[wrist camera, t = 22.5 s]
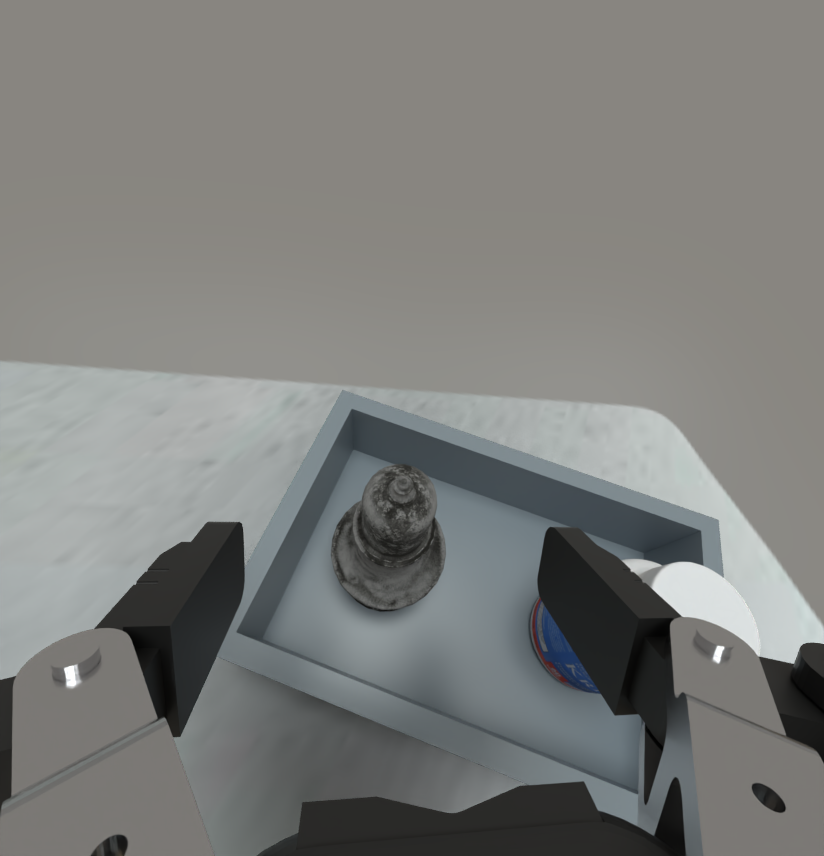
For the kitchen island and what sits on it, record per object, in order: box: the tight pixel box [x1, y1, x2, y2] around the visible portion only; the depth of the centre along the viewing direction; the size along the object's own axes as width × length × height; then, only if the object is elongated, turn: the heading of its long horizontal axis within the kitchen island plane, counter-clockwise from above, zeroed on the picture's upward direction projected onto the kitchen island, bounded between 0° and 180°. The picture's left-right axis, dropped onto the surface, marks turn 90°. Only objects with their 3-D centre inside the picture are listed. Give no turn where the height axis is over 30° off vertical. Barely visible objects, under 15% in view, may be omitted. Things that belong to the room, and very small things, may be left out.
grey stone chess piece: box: [331, 464, 446, 612], centre depth 18 cm, size 6×6×12 cm
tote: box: [216, 390, 724, 826], centre depth 21 cm, size 22×14×6 cm, turn 71°
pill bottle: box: [530, 559, 760, 694], centre depth 18 cm, size 6×5×10 cm
